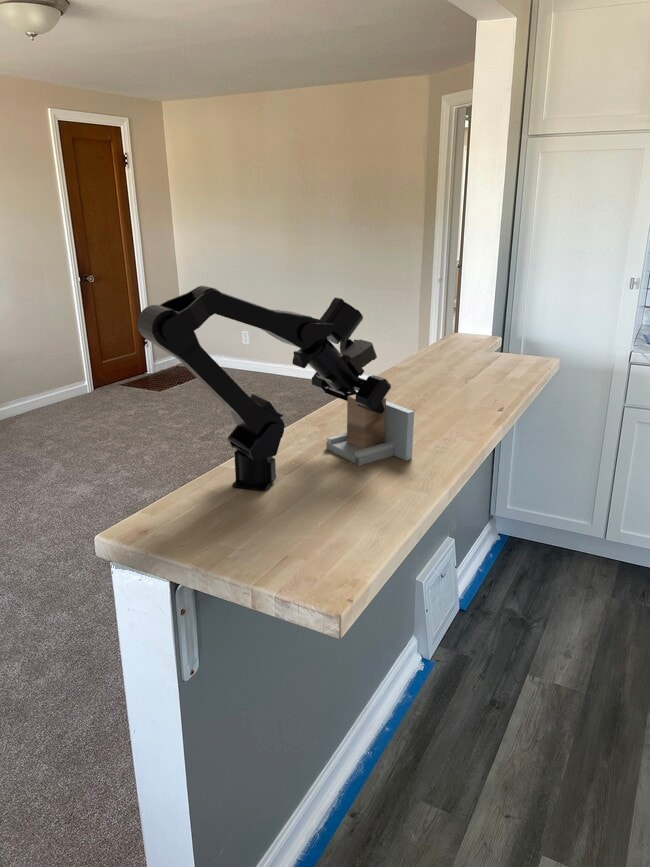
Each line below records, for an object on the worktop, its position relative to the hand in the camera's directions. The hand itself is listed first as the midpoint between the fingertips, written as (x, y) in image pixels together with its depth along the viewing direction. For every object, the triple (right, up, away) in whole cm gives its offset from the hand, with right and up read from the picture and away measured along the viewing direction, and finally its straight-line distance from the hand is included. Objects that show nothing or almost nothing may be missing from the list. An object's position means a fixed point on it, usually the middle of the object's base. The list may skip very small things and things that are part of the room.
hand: (371, 407), depth 130 cm
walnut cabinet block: (-1, -7, +2) cm, 8 cm away
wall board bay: (-2, -9, +2) cm, 9 cm away
